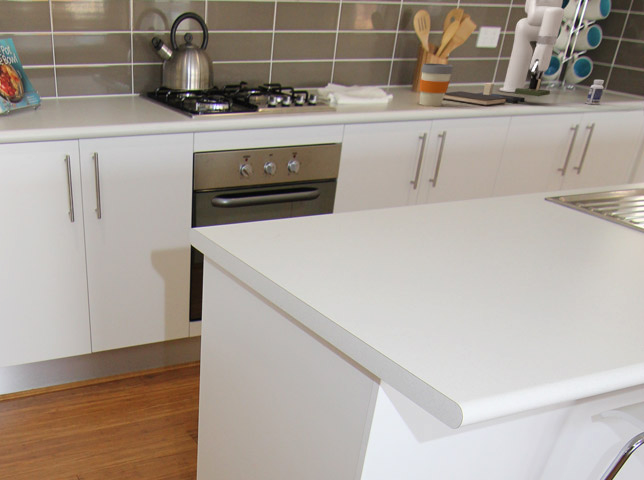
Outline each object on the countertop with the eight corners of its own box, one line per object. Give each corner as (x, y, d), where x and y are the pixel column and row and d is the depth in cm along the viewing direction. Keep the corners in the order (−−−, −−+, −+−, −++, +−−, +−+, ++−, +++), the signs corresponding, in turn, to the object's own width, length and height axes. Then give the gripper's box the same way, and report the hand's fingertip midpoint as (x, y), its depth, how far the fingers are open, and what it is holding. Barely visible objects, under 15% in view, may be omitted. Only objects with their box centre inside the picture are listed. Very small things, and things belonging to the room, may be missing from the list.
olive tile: (521, 91, 328) (525, 76, 325) (549, 94, 321) (553, 79, 317) (510, 92, 321) (514, 77, 317) (538, 96, 313) (542, 80, 310)
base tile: (503, 98, 335) (503, 95, 334) (524, 101, 329) (525, 97, 328) (491, 100, 327) (492, 96, 326) (512, 103, 321) (513, 99, 321)
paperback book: (485, 105, 310) (487, 99, 309) (440, 98, 324) (441, 93, 323) (505, 103, 319) (506, 97, 317) (460, 96, 333) (461, 91, 332)
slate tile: (482, 95, 340) (485, 81, 337) (507, 99, 333) (511, 84, 330) (470, 97, 333) (473, 83, 330) (496, 101, 326) (499, 86, 323)
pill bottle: (600, 104, 330) (607, 80, 324) (596, 105, 326) (603, 81, 321) (587, 102, 333) (595, 79, 327) (583, 103, 329) (591, 79, 324)
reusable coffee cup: (451, 106, 305) (459, 66, 297) (425, 106, 302) (433, 66, 294) (434, 102, 315) (442, 63, 307) (409, 102, 312) (416, 63, 304)
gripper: (545, 40, 316) (533, 86, 326) (530, 41, 306) (518, 89, 316) (562, 41, 312) (549, 88, 322) (547, 42, 302) (534, 91, 312)
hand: (534, 88), depth 319 cm, fingers closed on olive tile, 3 cm apart
